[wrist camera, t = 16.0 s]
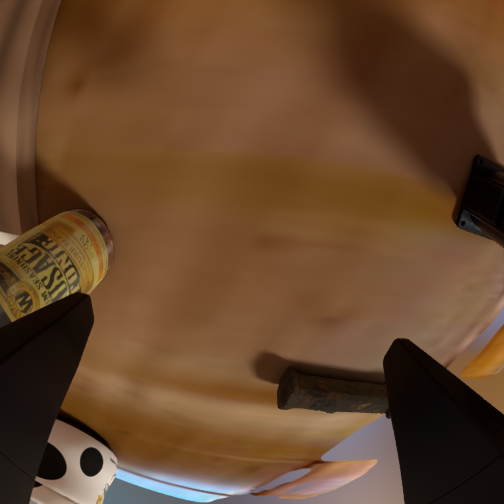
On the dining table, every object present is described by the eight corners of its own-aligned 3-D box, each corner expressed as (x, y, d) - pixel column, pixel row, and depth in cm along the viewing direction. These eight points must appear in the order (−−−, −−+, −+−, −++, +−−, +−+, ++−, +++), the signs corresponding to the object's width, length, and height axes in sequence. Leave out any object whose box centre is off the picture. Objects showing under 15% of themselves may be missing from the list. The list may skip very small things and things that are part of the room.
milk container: (127, 464, 42) (110, 535, 25) (54, 436, 40) (30, 499, 24) (114, 430, 34) (86, 525, 18) (27, 393, 33) (-11, 470, 17)
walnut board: (78, -41, 9) (63, -51, 7) (51, 296, 23) (37, 311, 21) (23, -19, 9) (7, -25, 7) (6, 281, 23) (-7, 294, 20)
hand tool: (272, 383, 28) (274, 420, 24) (288, 360, 26) (293, 398, 22) (403, 399, 30) (413, 426, 26) (421, 380, 29) (434, 407, 25)
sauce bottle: (132, 260, 21) (-5, 502, 3) (80, 282, 22) (-41, 468, 4) (92, 186, 19) (-131, 372, 1) (44, 219, 20) (-122, 374, 2)
